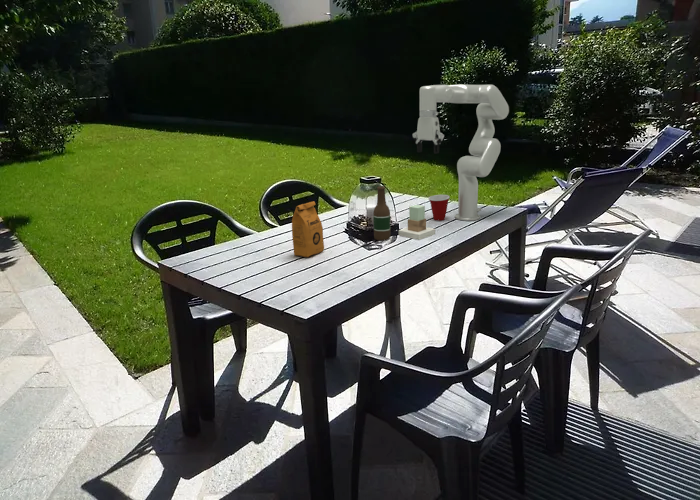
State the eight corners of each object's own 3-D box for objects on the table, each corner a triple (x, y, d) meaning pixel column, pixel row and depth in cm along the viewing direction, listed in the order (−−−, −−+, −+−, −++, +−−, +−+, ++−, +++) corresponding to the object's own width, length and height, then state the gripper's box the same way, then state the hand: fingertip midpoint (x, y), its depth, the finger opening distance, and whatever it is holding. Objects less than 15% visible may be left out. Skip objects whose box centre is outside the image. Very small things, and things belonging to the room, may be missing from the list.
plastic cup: (424, 218, 264) (424, 196, 260) (441, 215, 268) (441, 193, 264) (435, 223, 254) (436, 199, 251) (453, 220, 259) (454, 197, 255)
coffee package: (328, 252, 217) (324, 201, 210) (307, 259, 208) (303, 207, 202) (311, 248, 223) (308, 199, 217) (290, 255, 214) (286, 204, 208)
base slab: (415, 230, 244) (415, 225, 243) (435, 234, 236) (435, 228, 235) (398, 235, 236) (398, 230, 235) (419, 240, 228) (419, 234, 227)
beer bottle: (384, 241, 228) (383, 188, 221) (370, 239, 232) (368, 187, 225) (394, 237, 234) (393, 185, 226) (380, 235, 238) (378, 184, 231)
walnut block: (415, 227, 239) (415, 217, 238) (426, 229, 235) (426, 218, 234) (407, 230, 235) (407, 219, 234) (418, 232, 231) (417, 221, 230)
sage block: (416, 217, 237) (416, 204, 235) (424, 218, 234) (424, 206, 232) (409, 219, 234) (409, 206, 232) (417, 221, 230) (417, 208, 229)
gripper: (448, 114, 226) (448, 152, 231) (418, 114, 238) (418, 150, 243) (438, 115, 221) (438, 154, 226) (407, 115, 233) (408, 152, 238)
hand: (427, 152), depth 235 cm, fingers open, 9 cm apart
